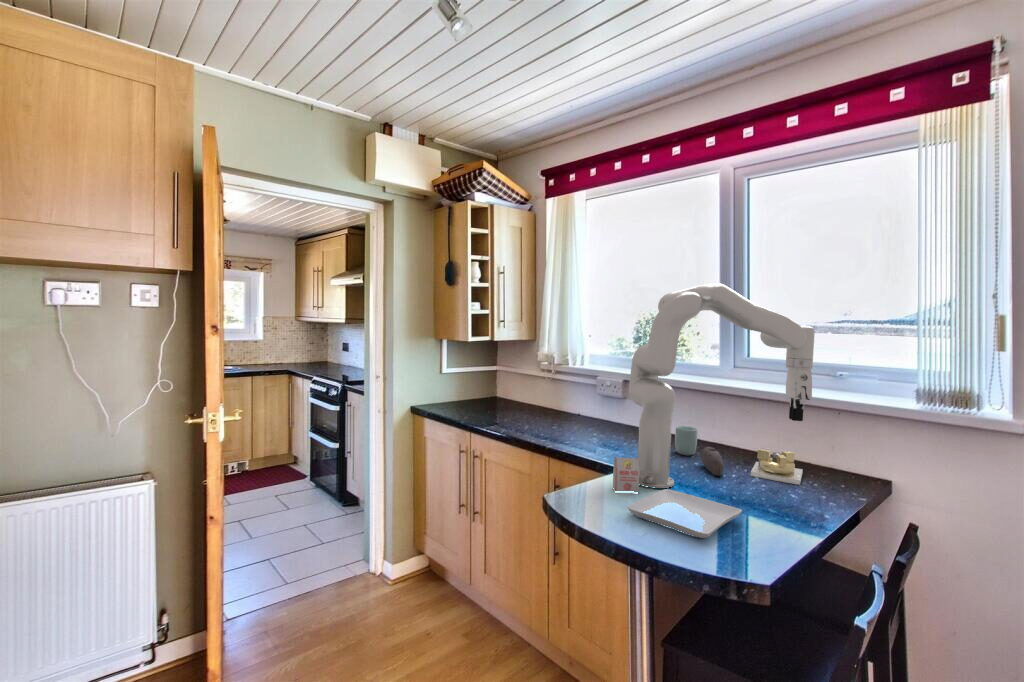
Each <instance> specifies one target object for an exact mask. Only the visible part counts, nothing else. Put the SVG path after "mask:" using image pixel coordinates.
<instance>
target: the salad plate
mask: <svg viewBox="0 0 1024 682" xmlns="http://www.w3.org/2000/svg"><path fill="white" fill-rule="evenodd" d="M668 502H669V503H670V502H671V503H673V502H674V503H677V504H679V505H681V506H683V508H686V509H687V510H689V512H692V513H693V514H695V513H697V514H698V515H700V517H701V518H703V520H705V521H704V522H705V524H704V523H703V522H702V523H703V524H704V525H703V526H702V527H703V532H702V531H701V532H698V531H695V530H692V529H690V528H687V527H685V526H682V525H679V524H676V523H674V522H671V521H668V520H665V519H662V518H659V517H656V516H653V515H650V514H646V513H643V512H644V511H647V510H650V509H651V508H654V507H655V506H657V505H661V504H663V503H668ZM626 508H627V510H628V511H629V512H630V513H631V514H632V515H634V516H636V517H638V516H639V517H638V518H640V517H642V518H644V519H643V520H645V519H647V520H646V521H648V520H650V521H653V522H656V523H659V524H662V525H665V526H668V527H671V528H674V529H676V530H679V531H682V532H684V533H687V534H690V535H693V536H692V537H694V536H696V537H695V538H698V537H699V538H698V539H705V538H709V537H710V536H711V535H713V533H714V532H716V531H717V530H718V529H720V528H721V527H723V526H724V525H726V524H727V523H729V522H731V521H732V520H734V519H736V518H737V517H738V516H739V515H741V513H742V512H743V509H740V508H738V507H734V506H731V505H727V504H724V503H722V502H721V503H720V502H716V501H713V500H711V499H706V498H703V497H698V496H697V495H691V494H689V493H684V492H680V491H677V490H673V489H670V488H667V489H660V490H659V491H657V492H654V493H652V494H650V495H648V496H646V497H644V498H642V499H640V500H637V501H635V502H633V503H631V504H629V505H628V506H627V507H626ZM642 518H641V519H642ZM650 521H649V522H650ZM653 522H652V523H653ZM656 523H655V524H656ZM659 524H658V525H659ZM676 530H675V531H676ZM684 533H683V534H684ZM687 534H686V535H687ZM690 535H689V536H690Z"/></svg>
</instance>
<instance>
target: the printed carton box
mask: <svg viewBox="0 0 1024 682" xmlns="http://www.w3.org/2000/svg"><path fill="white" fill-rule="evenodd" d="M612 471H613V473H612V489H613V488H614V490H615V491H634V492H638V493H639V491H640V489H639V488H640V485H639V459H638V457H621V456H620V457H614V463H613V469H612Z"/></svg>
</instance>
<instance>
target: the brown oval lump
mask: <svg viewBox="0 0 1024 682" xmlns="http://www.w3.org/2000/svg"><path fill="white" fill-rule="evenodd" d="M700 455H701V461H702V464H703V466H704V467H705V468H706V470H708V471H709V472H710V473H711V474H713V475H715V476H718V477H719V476H721V475H722V474H723V472H724V470H725V467H724V466H725V464H724V460H723V458H722V456H721V454H720V453H719V451H718V450H717V449H715V448H714V447H712V446H705V447H704V448H702V451H701V454H700Z"/></svg>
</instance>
